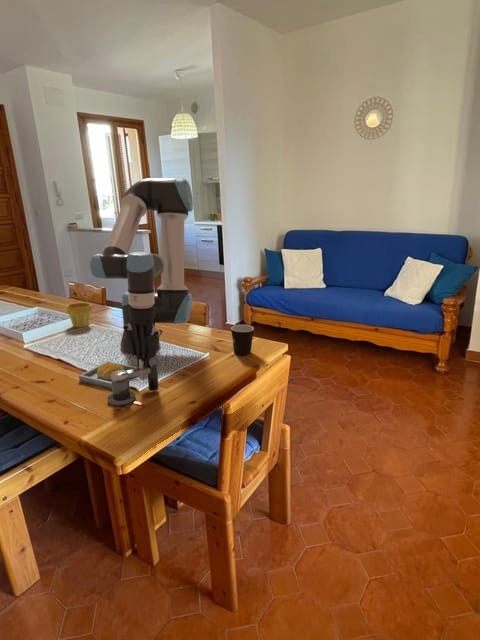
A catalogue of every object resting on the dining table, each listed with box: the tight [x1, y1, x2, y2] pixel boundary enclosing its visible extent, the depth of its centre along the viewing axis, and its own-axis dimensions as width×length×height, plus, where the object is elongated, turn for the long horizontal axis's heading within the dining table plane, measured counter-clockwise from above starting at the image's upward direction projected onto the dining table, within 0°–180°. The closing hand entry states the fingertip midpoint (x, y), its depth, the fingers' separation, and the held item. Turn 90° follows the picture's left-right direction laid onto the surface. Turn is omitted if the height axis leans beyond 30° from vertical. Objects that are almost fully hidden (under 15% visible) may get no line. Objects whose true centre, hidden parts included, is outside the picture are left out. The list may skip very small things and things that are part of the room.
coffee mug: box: [230, 324, 255, 357], centre depth 159 cm, size 12×9×10 cm
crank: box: [111, 364, 159, 392], centre depth 124 cm, size 14×5×8 cm, turn 123°
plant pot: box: [66, 302, 92, 329], centre depth 189 cm, size 10×10×10 cm
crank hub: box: [107, 379, 147, 408], centre depth 121 cm, size 12×8×7 cm, turn 66°
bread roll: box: [97, 362, 125, 380], centre depth 137 cm, size 8×9×4 cm
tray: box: [78, 360, 138, 390], centre depth 138 cm, size 14×14×2 cm
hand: (144, 377), depth 129 cm, fingers closed
